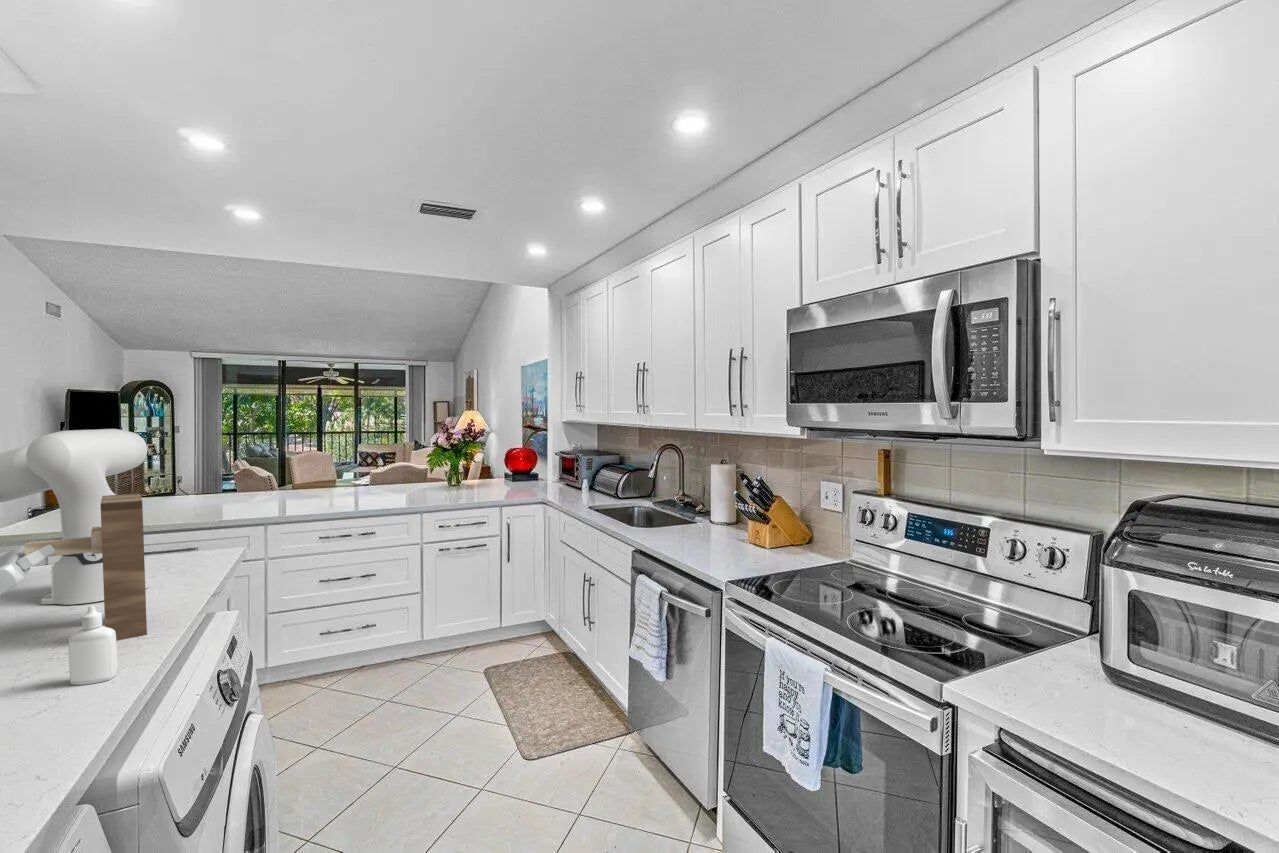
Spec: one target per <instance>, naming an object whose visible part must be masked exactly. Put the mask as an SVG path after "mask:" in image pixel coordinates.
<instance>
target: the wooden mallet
mask: <svg viewBox="0 0 1279 853" xmlns="http://www.w3.org/2000/svg"><path fill="white" fill-rule="evenodd" d="M50 540H51V541H49V540H41V541H33V542H31V541H29V542H25V544H24V547H25V555H28V554H30V553H32V552H34V551H36V550H38V549H39V548H41V547H43V546H45V545H47V544H52V545H53V546H54V547H55V549H56V550H55V552H54V553H53V554H51V555H49V556H47V557H48V558H49V557H58V556H59V557H61V556H62V555H70V554H79V553H89V552H91V555H92V554H101V553H102V531H101V526H100V527H92V531H91V537H83V538H72V539H62V538H60V539H50ZM47 557H46V558H47Z"/></svg>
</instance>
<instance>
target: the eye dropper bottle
mask: <svg viewBox="0 0 1279 853" xmlns="http://www.w3.org/2000/svg"><path fill="white" fill-rule="evenodd" d="M117 650H118V648H117V640H116V632H115V630H113V629H111V628H108V627H105V626H103V613H102V612H99V611H97V610H96V606H95V605H89V606H88V607H87V612H86V613H85V614H83V615H82V616H81V629H79V630H78V631H76V632H74V633H73V634H72V635H71V636H70V637H69V639H68V663H69V665H68V666H69V683H70V684H71V685H75V686H76V685H77V686H83V685H95V684H99V683H104V682H108V681H111V680H112V679H114V678H115V677H116V676H117V675H118V651H117Z"/></svg>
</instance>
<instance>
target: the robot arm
mask: <svg viewBox="0 0 1279 853" xmlns="http://www.w3.org/2000/svg"><path fill="white" fill-rule="evenodd" d="M147 455H148V446H147V443H146V440H144V438H143V436H140V435H139V434H138V433H136V432H132V431H128V430H124V429H118V428H102V429H101V428H99V429H97V428H96V429H74V430H73V429H72V430H59V431H56V432H51V433H48V434H45V435H41V436H38V437H36V438H35V439H33V440H32V441H31V443H30V444H28V445H25V446H21V447H17V448H14V449H10V450H8V451H7V450H6V451H3V452H0V503H4V502H5V503H6V502H9V501H13V500H17V499H21V498H25V497H28V496H33V495H36V494H38V493H39V494H40V493H43V492H46V491H50V490H52V491H53V494H54V495H55V497H56V499H57V503H58V506H59V511H60V521H61V525H60V526H61V537H62V538H61V539H72V538H83V537H91V531H92V527H100V526H101V499H102V496H109V495H117V494H116V493H115V492H113V491H112V489H111V488H110V485H109V484H108V482H107V478H106V477H110V476H114V475H118V474H121V473H125V472H128V471H130V470H132V469H135V468H137V467H140V466H141V465H142V464H143V462H144V461H145V460H146V458H147ZM51 540H52V539H49V540H48V541H51ZM55 550H56V549H55V547H54V546H53V545H52V544H47V545H45V546H43V547H41V548H39V549H38V550H36V551H34V552H32V553H30V554H28V555H25V545H21V546H18V547H15V548H14V549H12V550H9V551H8V552H6V553H4V554H2V555H0V597H1V596H4V594H6V593H7V592H9V591H10V590H12V589H13V588H15V587H16V586H18V585H19V584H21V582H23V581H24V580H25V578H26V577H27V575H28V574H29V571H30V569H31V568H32V567H33V566H35V565H36V564H38V563H40V562H41V561H42V560H44V559H45V558H47V556H49V555H51V554H53V553H54V552H55ZM50 573H51V592H50V593H48V594H47V595H45V596H44V597H43V598H41V599H40V605H81V604H83V605H84V604H90V603H97V602H102V601H103V602H104V584H103V557H102V553H101V554H92V555H91V552H89V553H79V554H70V555H60V558H59V560H58V561H56V562H55V563H54V564H53V565H51V570H50ZM148 588H149V583H148V582H146V581H145V590H147V589H148Z"/></svg>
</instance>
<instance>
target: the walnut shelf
mask: <svg viewBox="0 0 1279 853" xmlns="http://www.w3.org/2000/svg"><path fill="white" fill-rule="evenodd" d="M143 509H144V508H143V498H142V494H141V493H140V492H138V493H136V492H135V493H124V494H116V495H109V496H102V499H101V531H102V557H103V584H104V600H103V604H104V605H103V606H104V627H108V628H111V629H113V630H115V632H116V641H120V640H126V639H130V638H135V637H136V638H137V637H142V636H146V635H148V627H147V626H148V624H147V621H148V620H147V600H146V599H147V598H146V597H147V595H146V589H145V582H146V570H145V569H146V568H145V544H144V543H145V542H144V540H145V537H144V515H143V514H144V510H143Z"/></svg>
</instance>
